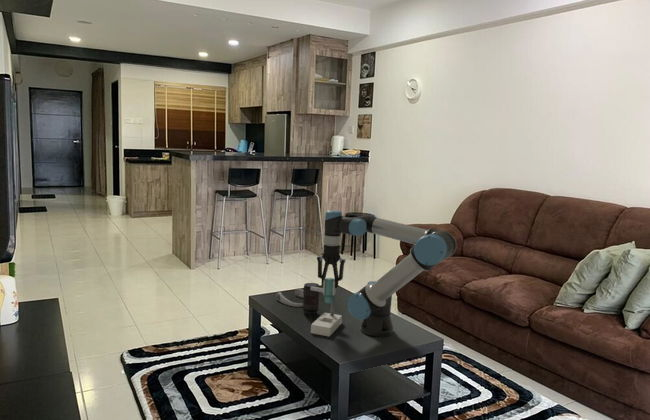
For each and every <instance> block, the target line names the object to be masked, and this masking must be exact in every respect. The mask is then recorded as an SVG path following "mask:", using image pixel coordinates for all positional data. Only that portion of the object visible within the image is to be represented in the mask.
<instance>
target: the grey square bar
mask: <svg viewBox="0 0 650 420" xmlns="http://www.w3.org/2000/svg"><path fill="white" fill-rule="evenodd" d="M310 290H313V291H318V292H320V293H323V287H320V288H318V287H313V286H311V288H310ZM336 294H337V293H336ZM336 294H335V296H336Z"/></svg>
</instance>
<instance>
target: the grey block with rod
mask: <svg viewBox="0 0 650 420" xmlns="http://www.w3.org/2000/svg"><path fill="white" fill-rule="evenodd" d="M335 301H336V297H335V298H333V303H330V309H329V311H330V312H323V313H322V314H321V315H320V316H319V317H317V318H316V320H314V321H313V322H312V323H311V325H310V334H314V335H320V336H326V337H331V336H332V335H333V333H335V331H336V330H338V328H339V327H340V326H341V325H342V323H343V315H341V314H336V313H335V304H336V303H335Z"/></svg>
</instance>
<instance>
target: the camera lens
mask: <svg viewBox="0 0 650 420" xmlns="http://www.w3.org/2000/svg"><path fill="white" fill-rule="evenodd" d="M311 286H313V287H318V288H321V287H320V284H319V283H316V282H306V283H304V286H303V291H304V292H303V295H304V298H303V299H302V304H303V307H302V310H303V314H304V315H305V316H311V317H312V316H316V315H317V314H318V312H319V301H320V293H321V292H318V291H313V290H310V288H311Z"/></svg>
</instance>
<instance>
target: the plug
mask: <svg viewBox="0 0 650 420" xmlns="http://www.w3.org/2000/svg"><path fill="white" fill-rule="evenodd" d="M325 279H326V286H325V294H323V298H324V303H325V304H331V303H333V298H335V299H336V295H332V294H333V281H334V280H335V278H333V277H326V278H325Z"/></svg>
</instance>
